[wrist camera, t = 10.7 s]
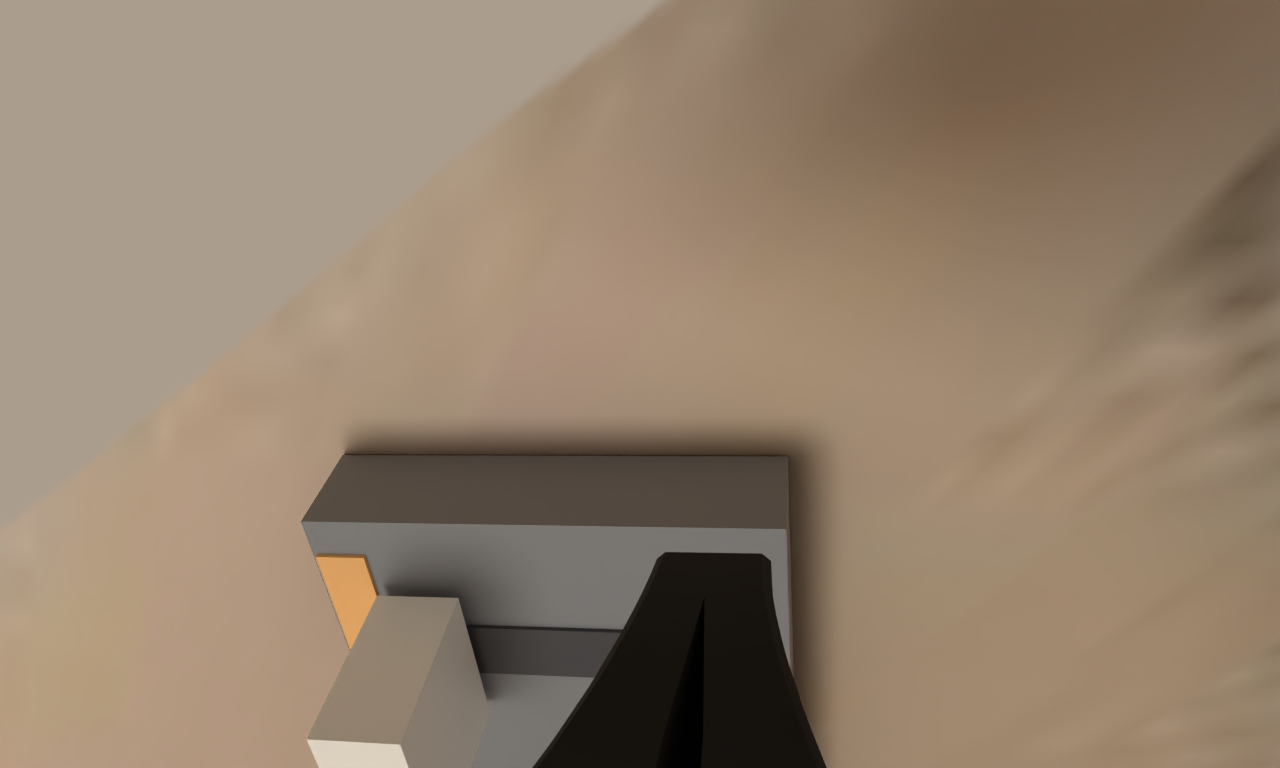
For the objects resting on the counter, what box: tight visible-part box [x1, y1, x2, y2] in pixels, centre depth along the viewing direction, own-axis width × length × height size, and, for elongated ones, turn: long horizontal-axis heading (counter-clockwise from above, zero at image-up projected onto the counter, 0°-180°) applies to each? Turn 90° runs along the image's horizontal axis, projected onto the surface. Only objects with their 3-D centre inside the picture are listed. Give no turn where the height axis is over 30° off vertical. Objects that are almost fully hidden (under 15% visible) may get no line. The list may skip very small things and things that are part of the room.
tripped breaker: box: [307, 596, 490, 768], centre depth 23 cm, size 2×4×4 cm, turn 6°
